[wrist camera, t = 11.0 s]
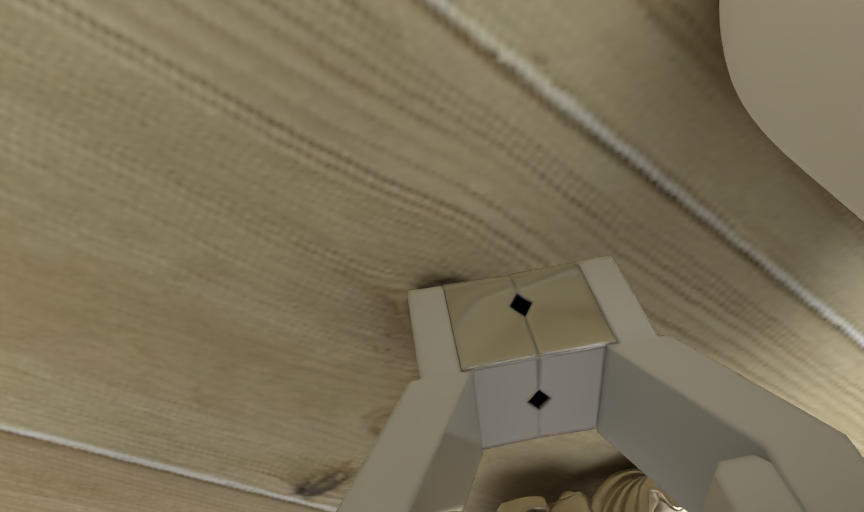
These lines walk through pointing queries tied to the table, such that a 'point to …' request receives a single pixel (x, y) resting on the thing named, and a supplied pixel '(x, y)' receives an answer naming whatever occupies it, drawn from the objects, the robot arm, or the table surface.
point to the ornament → (604, 497)
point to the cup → (804, 83)
